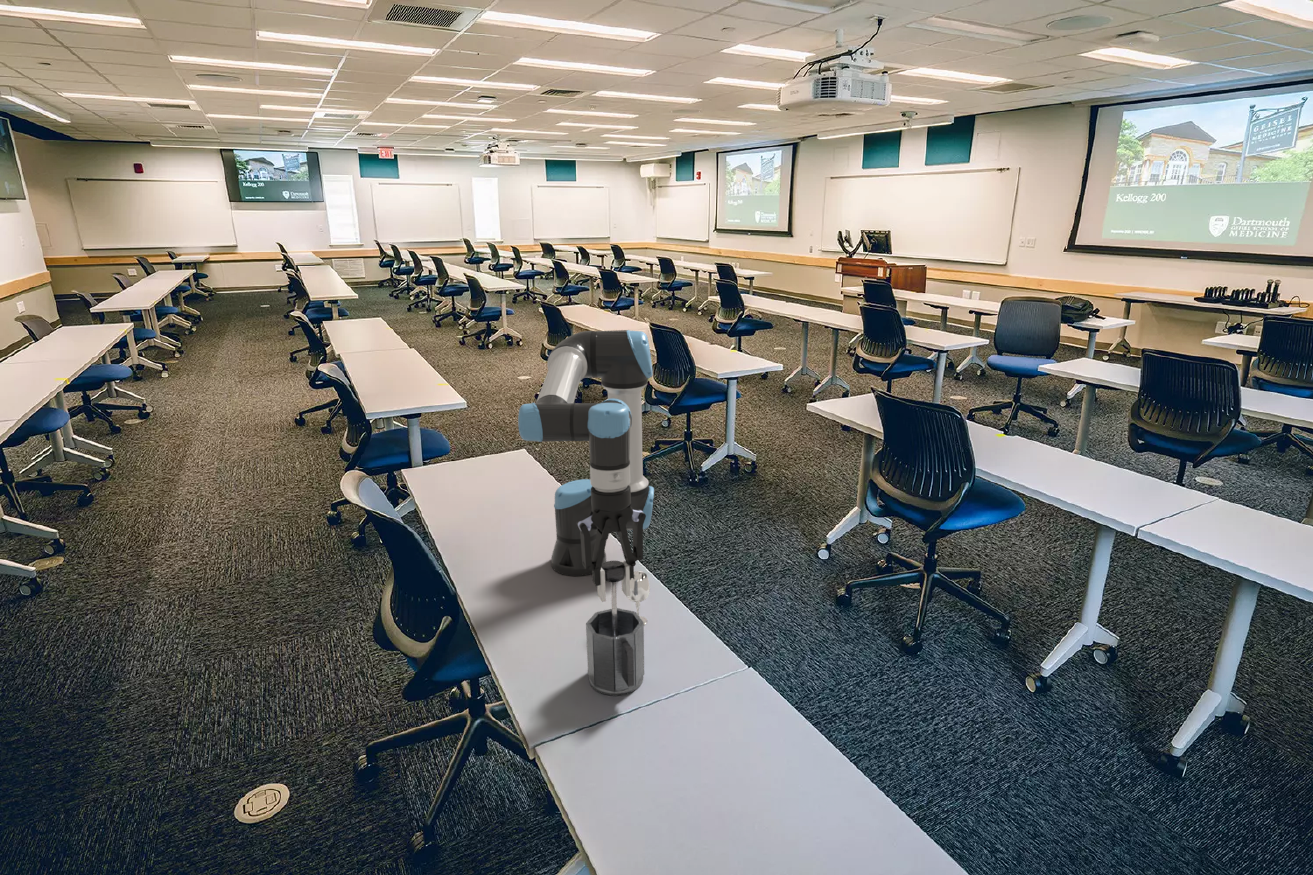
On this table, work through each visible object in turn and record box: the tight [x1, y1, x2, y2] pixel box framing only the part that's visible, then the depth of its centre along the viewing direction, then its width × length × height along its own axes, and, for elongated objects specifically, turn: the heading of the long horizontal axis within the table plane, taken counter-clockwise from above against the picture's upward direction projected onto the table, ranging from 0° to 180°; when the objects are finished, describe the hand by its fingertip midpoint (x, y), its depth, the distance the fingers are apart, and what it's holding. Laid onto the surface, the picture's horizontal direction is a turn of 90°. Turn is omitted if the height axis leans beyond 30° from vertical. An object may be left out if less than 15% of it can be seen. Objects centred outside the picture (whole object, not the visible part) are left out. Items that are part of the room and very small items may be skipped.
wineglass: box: [626, 570, 651, 626], centre depth 161 cm, size 6×6×12 cm
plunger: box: [602, 560, 625, 637], centre depth 138 cm, size 7×7×21 cm
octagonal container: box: [585, 607, 645, 697], centre depth 139 cm, size 14×11×13 cm
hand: (613, 595), depth 136 cm, fingers closed on plunger, 4 cm apart
